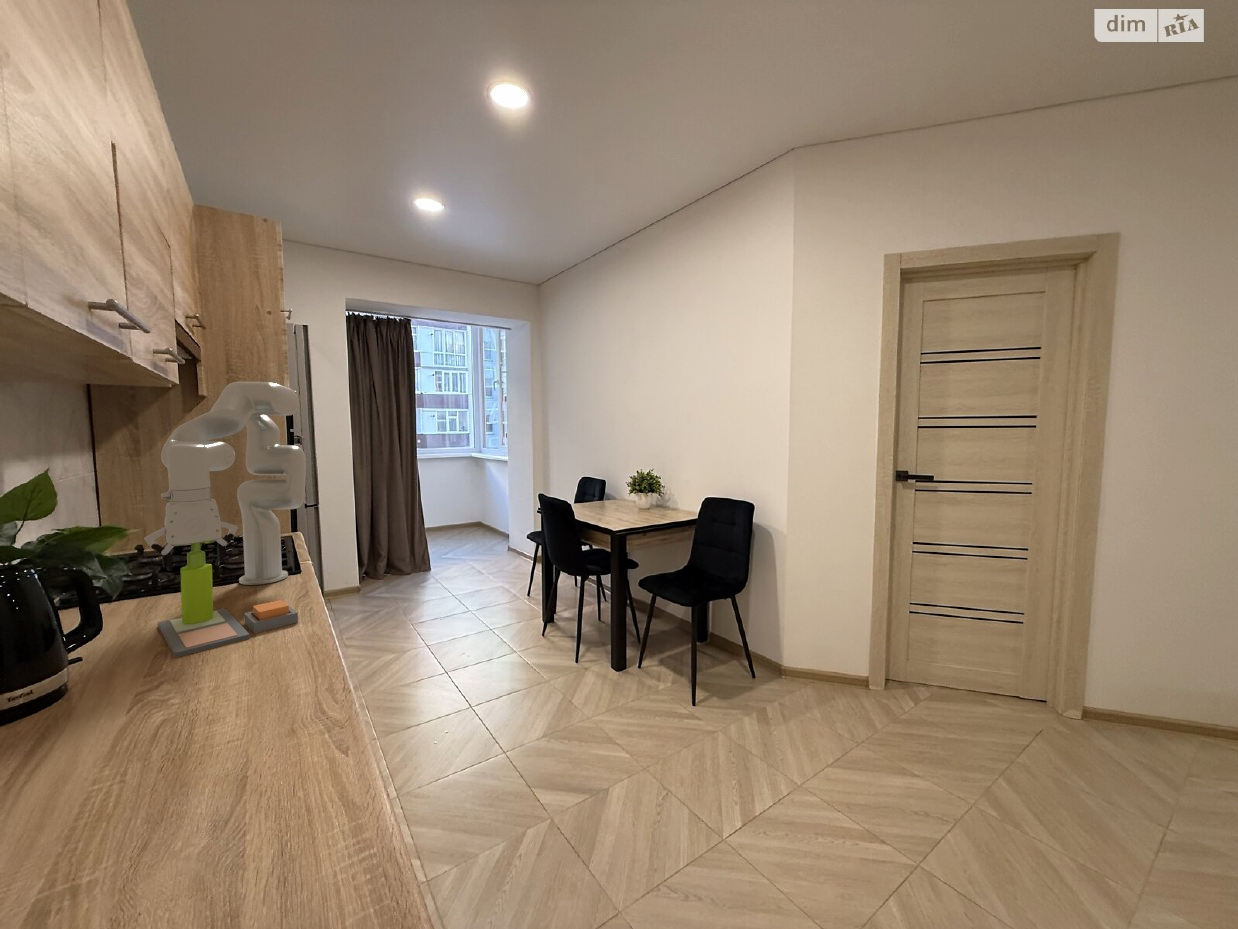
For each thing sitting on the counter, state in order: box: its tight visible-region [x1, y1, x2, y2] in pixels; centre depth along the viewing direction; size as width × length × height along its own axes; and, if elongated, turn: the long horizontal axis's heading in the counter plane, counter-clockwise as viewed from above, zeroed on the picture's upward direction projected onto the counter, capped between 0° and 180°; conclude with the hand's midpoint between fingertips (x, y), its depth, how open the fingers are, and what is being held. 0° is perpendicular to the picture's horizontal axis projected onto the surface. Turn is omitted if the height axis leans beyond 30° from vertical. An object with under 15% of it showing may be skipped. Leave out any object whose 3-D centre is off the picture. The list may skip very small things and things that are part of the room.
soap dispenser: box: [180, 541, 215, 624], centre depth 123 cm, size 6×7×20 cm
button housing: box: [243, 604, 299, 634], centre depth 125 cm, size 9×9×2 cm
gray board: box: [157, 608, 251, 658], centre depth 119 cm, size 24×13×1 cm, turn 48°
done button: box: [252, 599, 290, 620], centre depth 125 cm, size 6×6×2 cm
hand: (195, 565), depth 122 cm, fingers open, 9 cm apart
